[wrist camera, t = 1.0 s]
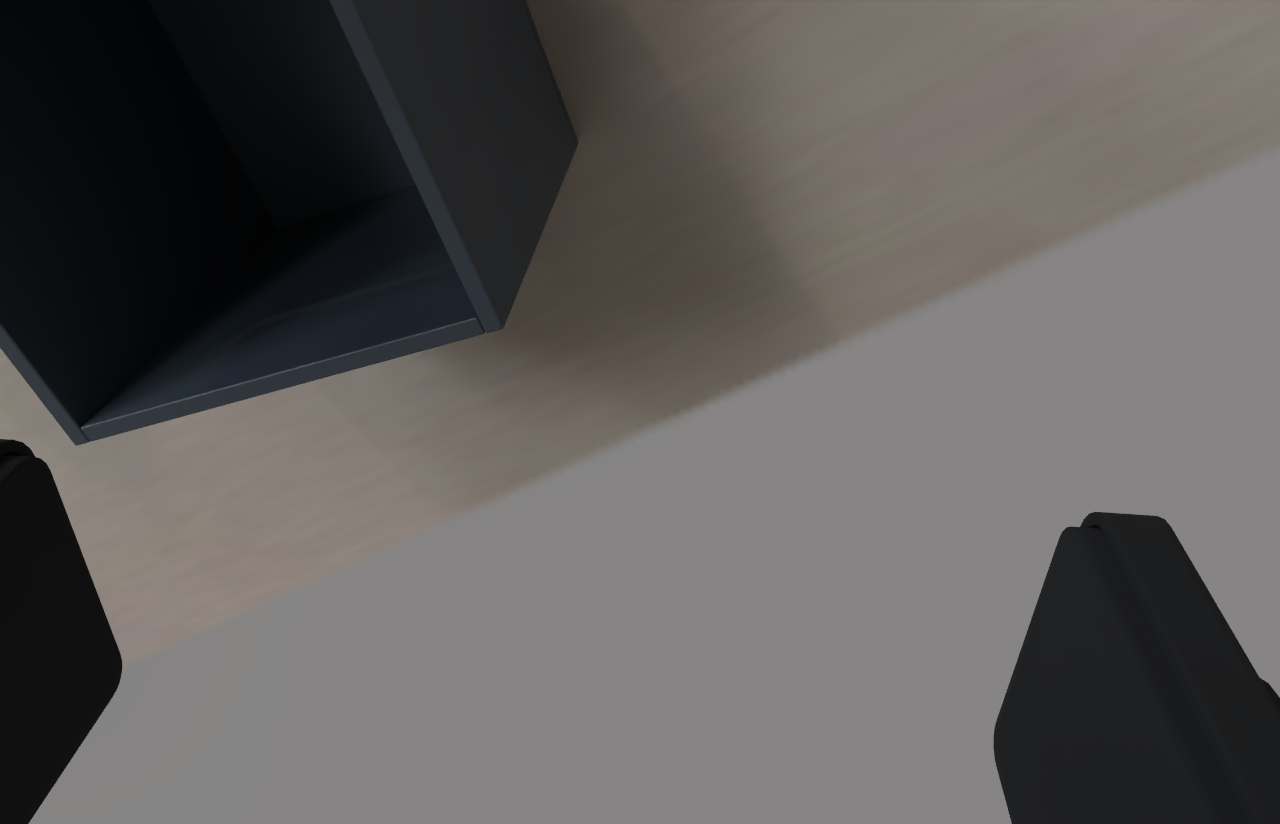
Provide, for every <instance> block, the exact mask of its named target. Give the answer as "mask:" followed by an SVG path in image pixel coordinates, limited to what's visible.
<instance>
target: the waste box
mask: <svg viewBox="0 0 1280 824" xmlns="http://www.w3.org/2000/svg"><path fill="white" fill-rule="evenodd" d="M577 145H578V140H577V138H576V135H575V132H574V129H573V127H572V124H571V121H570V119H569V116H568V113H567V111H566V108H565V105H564V103H563V100H562V97H561V95H560V92H559V89H558V87H557V84H556V81H555V78H554V76H553V73H552V70H551V68H550V65H549V62H548V60H547V57H546V54H545V52H544V49H543V46H542V44H541V41H540V38H539V36H538V33H537V30H536V27H535V25H534V22H533V19H532V17H531V14H530V11H529V9H528V6H527V3H526V1H525V0H0V348H1V349H2V350H3V352H4V353H5V354H6V356H7V357H8V358H9V360H10V361H11V362H12V363H13V365H14V366H15V367H16V369H17V370H18V371H19V373H20V374H21V375H22V376H23V378H24V379H25V380H26V382H27V383H28V384H29V386H30V387H31V388H32V389H33V391H34V392H35V393H36V395H37V396H38V397H39V399H40V400H41V401H42V402H43V404H44V405H45V406H46V408H47V409H48V410H49V412H50V413H51V414H52V415H53V417H54V418H55V419H56V421H57V422H58V423H59V425H60V426H61V427H62V428H63V430H64V431H65V432H66V434H67V435H68V436H69V438H70V439H71V440H72V441H73V443H74V444H75V445H80V444H84V443H87V442H90V441H95V440H98V439H102V438H106V437H109V436H113V435H117V434H120V433H124V432H128V431H131V430H135V429H138V428H142V427H146V426H149V425H153V424H157V423H160V422H164V421H168V420H171V419H175V418H179V417H182V416H186V415H190V414H193V413H197V412H200V411H204V410H208V409H211V408H215V407H219V406H222V405H226V404H230V403H233V402H237V401H241V400H244V399H248V398H252V397H255V396H259V395H263V394H266V393H270V392H273V391H277V390H281V389H284V388H288V387H292V386H295V385H299V384H303V383H306V382H310V381H314V380H317V379H321V378H325V377H328V376H332V375H335V374H339V373H343V372H346V371H350V370H354V369H357V368H361V367H365V366H368V365H372V364H376V363H379V362H383V361H387V360H390V359H394V358H397V357H401V356H405V355H408V354H412V353H416V352H419V351H423V350H427V349H430V348H434V347H438V346H441V345H445V344H449V343H452V342H456V341H459V340H463V339H467V338H470V337H474V336H478V335H481V334H484V333H485V332H486V333H489V332H493V331H496V330H500V329H502V328H503V327H504V325H505V322H506V320H507V317H508V315H509V313H510V310H511V308H512V305H513V303H514V300H515V298H516V295H517V293H518V290H519V288H520V285H521V283H522V281H523V278H524V276H525V273H526V271H527V268H528V266H529V263H530V261H531V258H532V256H533V253H534V251H535V248H536V246H537V244H538V241H539V239H540V236H541V234H542V231H543V229H544V226H545V224H546V221H547V219H548V216H549V214H550V212H551V209H552V207H553V204H554V202H555V199H556V197H557V194H558V192H559V189H560V187H561V184H562V182H563V179H564V177H565V175H566V172H567V170H568V167H569V165H570V162H571V160H572V157H573V155H574V152H575V150H576V147H577Z"/></svg>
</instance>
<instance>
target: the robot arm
mask: <svg viewBox="0 0 1280 824" xmlns="http://www.w3.org/2000/svg"><path fill="white" fill-rule="evenodd" d="M121 673H122V659H121V655H120V652H119V649H118V646H117V644H116V641H115V639H114V636H113V633H112V631H111V628H110V625H109V623H108V620H107V618H106V615H105V612H104V610H103V607H102V604H101V602H100V599H99V597H98V594H97V591H96V589H95V586H94V584H93V581H92V578H91V576H90V573H89V570H88V568H87V565H86V563H85V560H84V557H83V555H82V552H81V550H80V547H79V544H78V542H77V539H76V536H75V534H74V531H73V529H72V526H71V523H70V521H69V518H68V516H67V513H66V510H65V508H64V505H63V502H62V500H61V497H60V495H59V492H58V489H57V487H56V484H55V481H54V479H53V476H52V474H51V471H50V469H49V467H48V466H47V464H46V463H45V462H44V461H43V460H42V459H40V458H36V457H35V456H34V454H33V452H32V451H31V449H30V448H29V447H28V446H26V445H25V444H24V443H23V442H19V441H15V440H5V439H0V824H28V823H29V822H30V820H31V819H32V817H33V816H34V814H35V813H36V811H37V810H38V808H39V807H40V805H41V804H42V802H43V801H44V799H45V798H46V796H47V795H48V793H49V792H50V790H51V788H52V787H53V786H54V784H55V783H56V781H57V780H58V778H59V777H60V775H61V774H62V772H63V771H64V769H65V768H66V766H67V765H68V763H69V762H70V760H71V759H72V757H73V755H74V754H75V753H76V751H77V749H78V748H79V746H80V745H81V744H82V742H83V741H84V739H85V738H86V736H87V735H88V733H89V731H90V730H91V729H92V727H93V726H94V724H95V723H96V721H97V720H98V718H99V716H100V715H101V714H102V712H103V710H104V709H105V707H106V706H107V705H108V703H109V702H110V700H111V698H112V697H113V695H114V693H115V691H116V689H117V688H118V685H119V682H120V678H121ZM994 755H995V761H996V766H997V770H998V773H999V777H1000V781H1001V785H1002V788H1003V792H1004V795H1005V800H1006V803H1007V807H1008V811H1009V814H1010V818H1011V822H1012V824H1280V698H1279V696H1278V695H1277V694H1276V692H1275V691H1274V690H1273V689H1272V687H1271V686H1270V685H1269V684H1268V683H1267V682H1265V681H1264V680H1262V679H1261V678H1259V676H1258V675H1257V673H1256V671H1255V669H1254V668H1253V666H1252V664H1251V663H1250V661H1249V659H1248V657H1247V656H1246V654H1245V653H1244V651H1243V649H1242V647H1241V645H1240V644H1239V642H1238V640H1237V639H1236V637H1235V635H1234V633H1233V632H1232V630H1231V629H1230V627H1229V625H1228V623H1227V622H1226V620H1225V618H1224V617H1223V615H1222V613H1221V611H1220V610H1219V608H1218V606H1217V604H1216V603H1215V601H1214V599H1213V598H1212V596H1211V594H1210V593H1209V591H1208V589H1207V587H1206V586H1205V584H1204V582H1203V581H1202V579H1201V577H1200V576H1199V574H1198V572H1197V571H1196V569H1195V567H1194V565H1193V564H1192V562H1191V560H1190V559H1189V557H1188V555H1187V553H1186V552H1185V550H1184V548H1183V546H1182V545H1181V543H1180V541H1179V540H1178V538H1177V536H1176V535H1175V533H1174V531H1173V530H1172V528H1171V526H1170V525H1169V524H1168V523H1167V522H1166V520H1165V519H1163V518H1160V517H1158V516H1149V515H1147V516H1146V515H1133V514H1117V513H1102V512H1094V513H1090V514H1089V515H1088V516H1087V517H1086V518H1085V519H1084V520H1083V522H1082V525H1081V526H1080V527H1068V528H1066V529H1065V530H1064V531H1063V532H1062V534H1061V536H1060V538H1059V541H1058V544H1057V546H1056V549H1055V552H1054V555H1053V558H1052V561H1051V564H1050V567H1049V570H1048V572H1047V575H1046V578H1045V581H1044V584H1043V587H1042V590H1041V593H1040V596H1039V599H1038V602H1037V605H1036V607H1035V610H1034V613H1033V617H1032V619H1031V622H1030V625H1029V628H1028V631H1027V634H1026V637H1025V640H1024V642H1023V646H1022V649H1021V651H1020V654H1019V657H1018V661H1017V663H1016V666H1015V669H1014V672H1013V675H1012V677H1011V681H1010V684H1009V686H1008V689H1007V692H1006V695H1005V698H1004V701H1003V704H1002V707H1001V710H1000V713H999V715H998V718H997V722H996V725H995V731H994Z"/></svg>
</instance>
